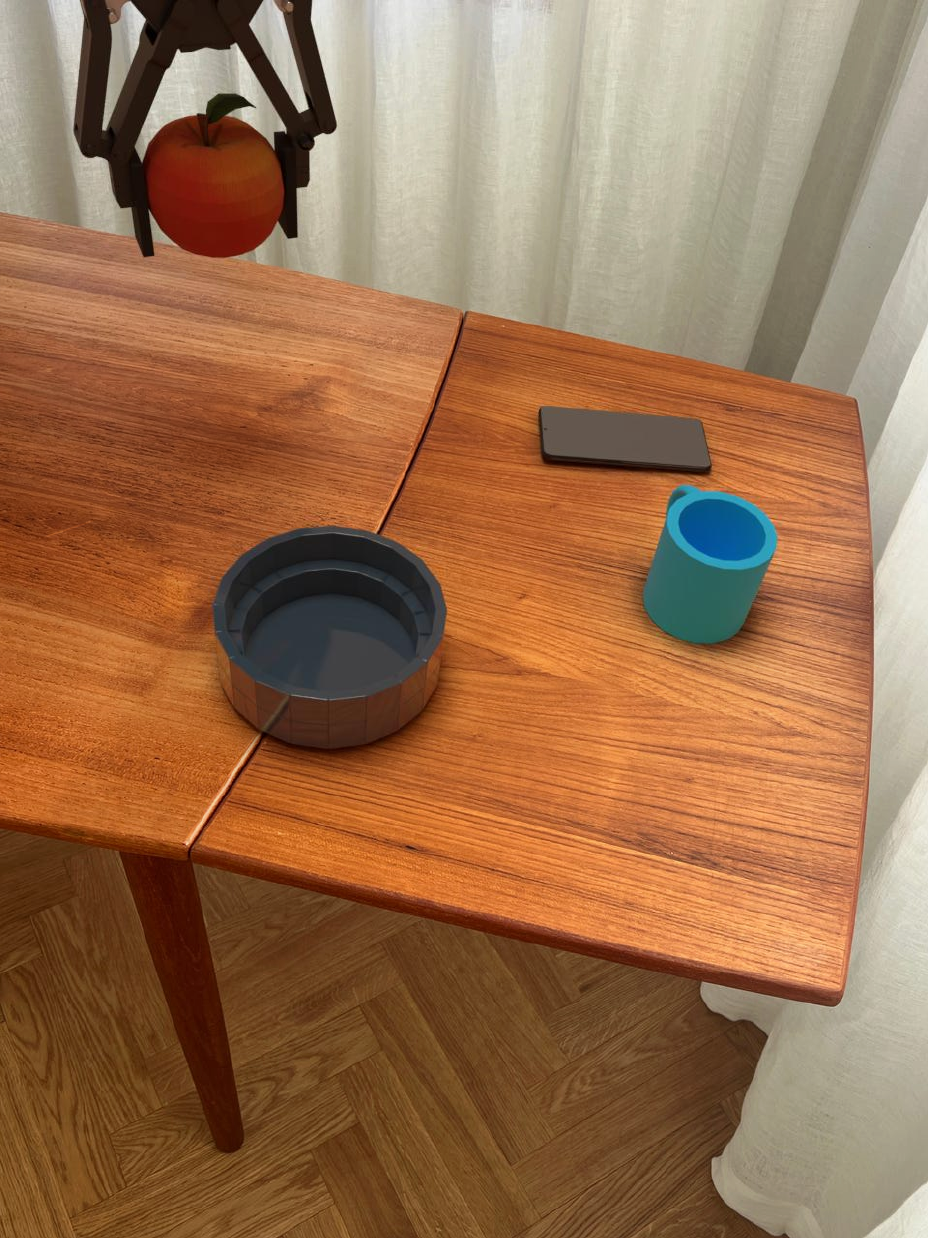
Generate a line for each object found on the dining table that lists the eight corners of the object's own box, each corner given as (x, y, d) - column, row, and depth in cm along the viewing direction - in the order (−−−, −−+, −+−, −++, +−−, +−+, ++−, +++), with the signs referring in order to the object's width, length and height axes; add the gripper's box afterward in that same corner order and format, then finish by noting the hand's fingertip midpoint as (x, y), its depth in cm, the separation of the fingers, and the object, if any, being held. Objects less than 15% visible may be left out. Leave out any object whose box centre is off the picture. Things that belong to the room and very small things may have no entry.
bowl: (175, 699, 76) (166, 643, 72) (289, 555, 86) (287, 498, 82) (379, 787, 73) (382, 735, 69) (473, 628, 83) (481, 573, 78)
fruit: (125, 225, 79) (105, 82, 72) (246, 196, 83) (238, 59, 76) (184, 293, 75) (169, 148, 67) (309, 259, 79) (308, 119, 71)
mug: (761, 638, 85) (795, 565, 79) (661, 648, 83) (687, 574, 77) (708, 529, 93) (735, 453, 86) (615, 536, 91) (636, 460, 85)
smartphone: (713, 467, 96) (543, 454, 95) (710, 475, 97) (541, 462, 96) (701, 417, 101) (538, 403, 100) (699, 425, 102) (537, 411, 100)
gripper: (-13, -101, 56) (65, 287, 73) (397, -112, 63) (382, 245, 80) (-32, -149, 61) (46, 228, 77) (354, -154, 68) (349, 193, 84)
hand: (217, 237), depth 79 cm, fingers closed on fruit, 9 cm apart
